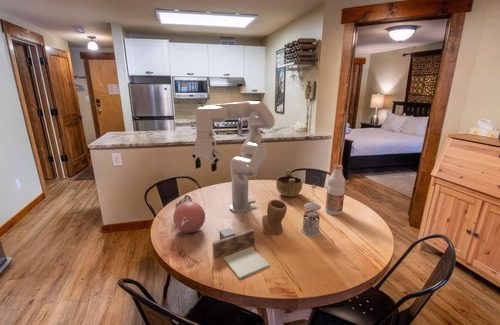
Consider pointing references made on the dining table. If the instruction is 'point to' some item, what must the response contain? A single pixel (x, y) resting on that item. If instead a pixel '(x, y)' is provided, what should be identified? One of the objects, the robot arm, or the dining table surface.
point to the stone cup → (274, 217)
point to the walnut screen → (233, 243)
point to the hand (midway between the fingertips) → (206, 169)
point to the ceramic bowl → (289, 185)
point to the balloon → (189, 217)
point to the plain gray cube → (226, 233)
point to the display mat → (246, 262)
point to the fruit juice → (335, 191)
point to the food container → (184, 200)
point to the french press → (311, 219)
